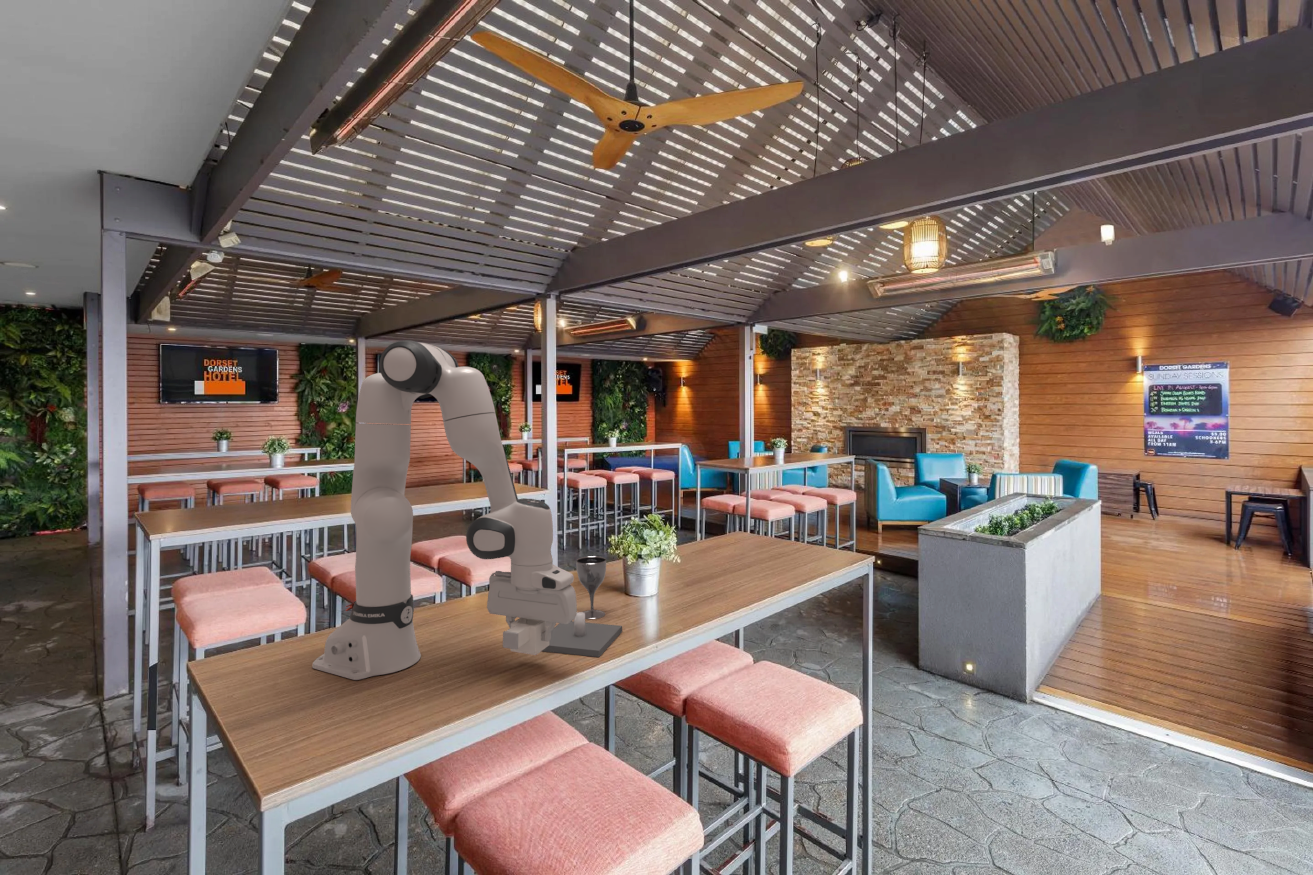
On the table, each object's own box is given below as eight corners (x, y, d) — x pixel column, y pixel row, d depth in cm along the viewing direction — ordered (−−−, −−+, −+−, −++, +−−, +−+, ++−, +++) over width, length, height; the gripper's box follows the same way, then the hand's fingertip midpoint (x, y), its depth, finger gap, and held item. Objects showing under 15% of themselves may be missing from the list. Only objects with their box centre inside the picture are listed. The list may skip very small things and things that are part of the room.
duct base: (534, 650, 140) (533, 622, 139) (563, 626, 155) (562, 601, 155) (599, 657, 135) (598, 628, 135) (622, 631, 151) (621, 605, 150)
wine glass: (602, 620, 159) (601, 564, 158) (573, 618, 160) (572, 562, 160) (610, 610, 167) (609, 556, 166) (582, 608, 168) (581, 555, 167)
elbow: (525, 641, 134) (525, 614, 134) (549, 645, 132) (549, 617, 132) (496, 660, 123) (497, 630, 123) (522, 664, 122) (522, 634, 121)
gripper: (481, 573, 130) (480, 636, 131) (567, 583, 124) (566, 649, 124) (497, 566, 136) (497, 627, 137) (580, 575, 130) (579, 639, 130)
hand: (530, 638), depth 130 cm, fingers closed on elbow, 6 cm apart
